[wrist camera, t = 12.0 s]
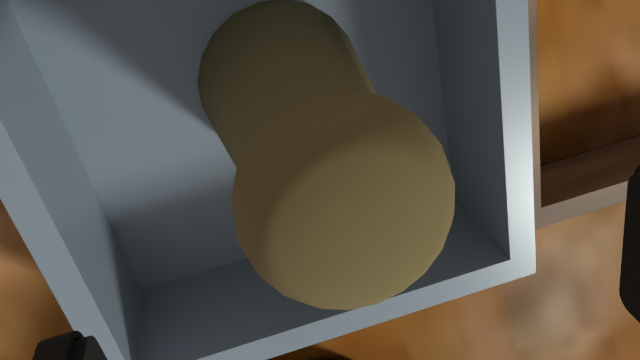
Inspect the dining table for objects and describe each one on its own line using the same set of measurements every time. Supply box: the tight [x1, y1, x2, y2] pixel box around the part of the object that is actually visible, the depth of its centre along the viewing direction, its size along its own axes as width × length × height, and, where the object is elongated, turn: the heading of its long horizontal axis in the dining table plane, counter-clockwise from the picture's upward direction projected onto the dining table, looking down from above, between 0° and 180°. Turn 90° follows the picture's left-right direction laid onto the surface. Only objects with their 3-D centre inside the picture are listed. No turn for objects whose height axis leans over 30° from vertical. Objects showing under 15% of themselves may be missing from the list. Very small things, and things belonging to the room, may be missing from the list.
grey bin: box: [0, 0, 536, 360], centre depth 20 cm, size 16×16×6 cm
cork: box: [197, 0, 455, 310], centre depth 17 cm, size 6×6×11 cm
